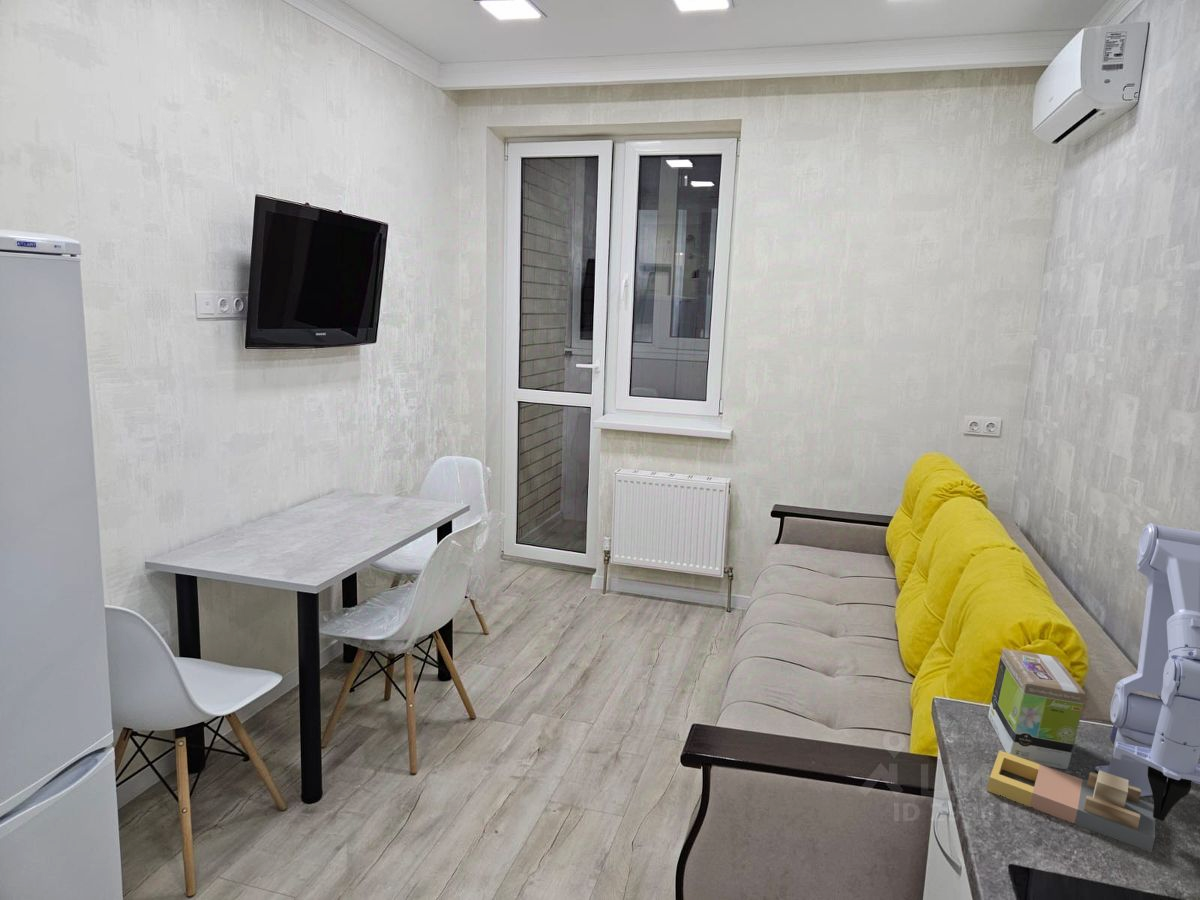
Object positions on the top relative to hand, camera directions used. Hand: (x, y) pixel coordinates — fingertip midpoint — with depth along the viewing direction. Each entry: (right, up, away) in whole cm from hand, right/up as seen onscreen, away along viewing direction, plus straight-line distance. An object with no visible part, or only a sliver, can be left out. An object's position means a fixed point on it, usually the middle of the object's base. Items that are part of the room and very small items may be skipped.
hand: (1158, 816), depth 124 cm
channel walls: (-5, 0, +3) cm, 6 cm away
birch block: (-5, 0, +4) cm, 7 cm away
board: (-10, -1, +7) cm, 12 cm away
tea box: (-7, +2, +24) cm, 26 cm away
